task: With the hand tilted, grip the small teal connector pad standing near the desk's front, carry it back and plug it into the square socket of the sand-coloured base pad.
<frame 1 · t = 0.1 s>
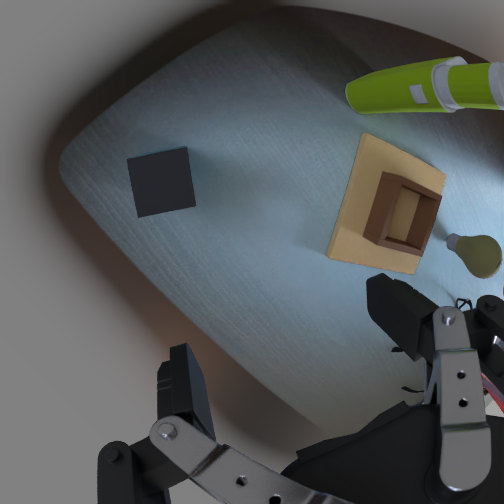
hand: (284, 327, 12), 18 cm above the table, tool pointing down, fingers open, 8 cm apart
light bulb: (447, 238, 37), on the table
base pad: (391, 210, 33), on the table
desk lamp: (488, 356, 57), on the table
vape: (366, 93, 27), on the table
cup: (493, 385, 68), on the table
pad plug: (166, 171, 26), on the table
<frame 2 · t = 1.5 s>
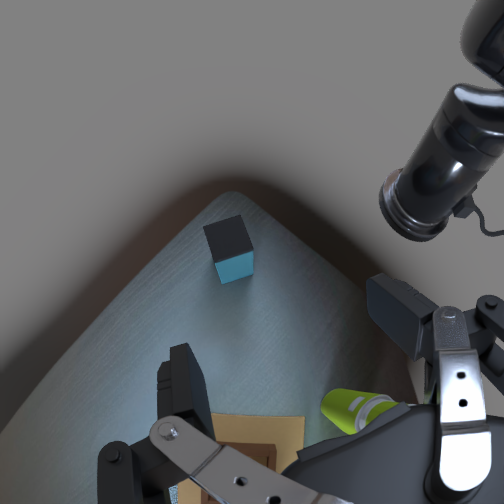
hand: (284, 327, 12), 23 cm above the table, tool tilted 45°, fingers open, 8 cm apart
base pad: (239, 469, 28), on the table
vape: (342, 409, 31), on the table
pad plug: (232, 264, 37), on the table
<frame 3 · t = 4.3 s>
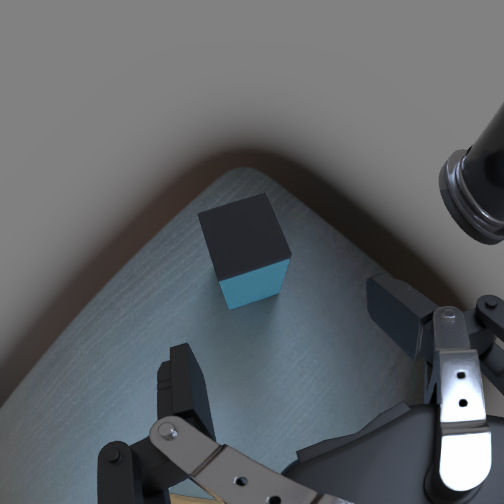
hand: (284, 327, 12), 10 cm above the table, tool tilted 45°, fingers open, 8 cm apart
pad plug: (246, 278, 24), on the table
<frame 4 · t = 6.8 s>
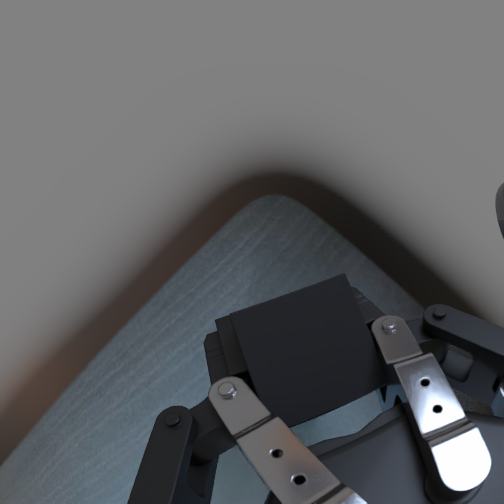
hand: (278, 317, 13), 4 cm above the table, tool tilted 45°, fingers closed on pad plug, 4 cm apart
pad plug: (285, 361, 16), on the table, touching gripper
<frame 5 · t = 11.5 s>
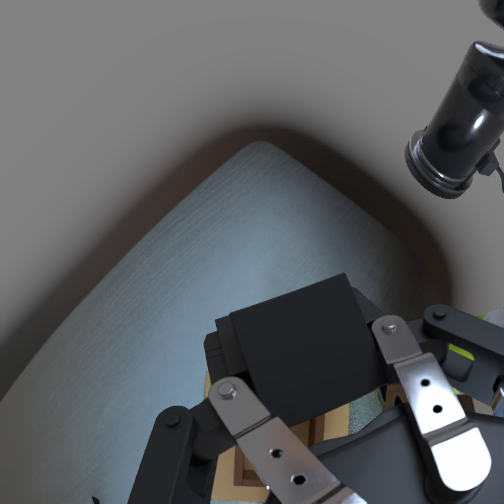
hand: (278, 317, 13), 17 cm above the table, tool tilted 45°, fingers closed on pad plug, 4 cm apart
base pad: (276, 441, 25), on the table
vape: (387, 365, 28), on the table
pad plug: (285, 360, 16), point 13 cm above the table, touching gripper
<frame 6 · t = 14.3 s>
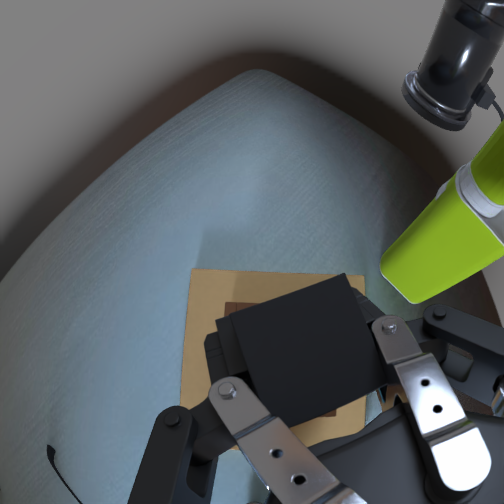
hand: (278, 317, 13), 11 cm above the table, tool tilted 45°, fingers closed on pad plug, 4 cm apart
base pad: (276, 362, 22), on the table
vape: (405, 274, 25), on the table
pad plug: (285, 361, 16), point 7 cm above the table, touching gripper
when the fingers open (5 cm above the table, at t = 16.3 s): pad plug stays where it is, resting on base pad.
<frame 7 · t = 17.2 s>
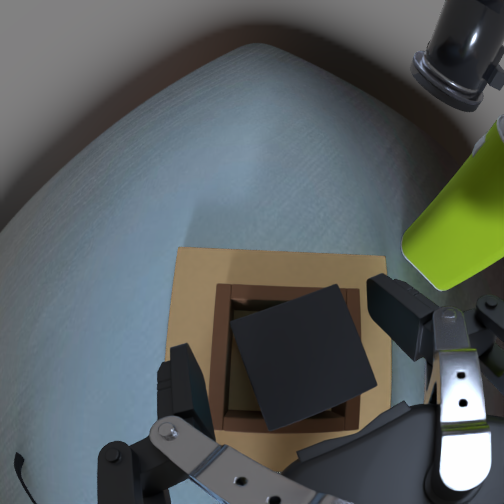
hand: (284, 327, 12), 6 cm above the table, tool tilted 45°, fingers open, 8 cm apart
base pad: (281, 362, 18), on the table
vape: (429, 257, 21), on the table
pad plug: (282, 363, 17), point 1 cm above the table, touching base pad
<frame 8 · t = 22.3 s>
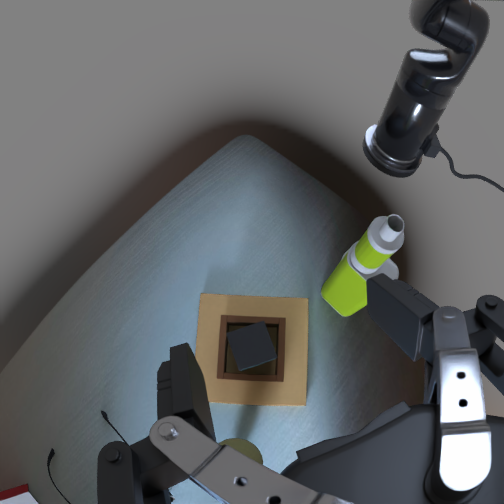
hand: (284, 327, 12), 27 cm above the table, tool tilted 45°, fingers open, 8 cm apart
light bulb: (238, 446, 33), on the table
base pad: (251, 350, 37), on the table
vape: (339, 296, 40), on the table
pad plug: (251, 350, 36), point 1 cm above the table, touching base pad
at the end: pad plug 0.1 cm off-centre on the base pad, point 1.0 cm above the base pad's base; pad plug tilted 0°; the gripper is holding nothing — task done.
